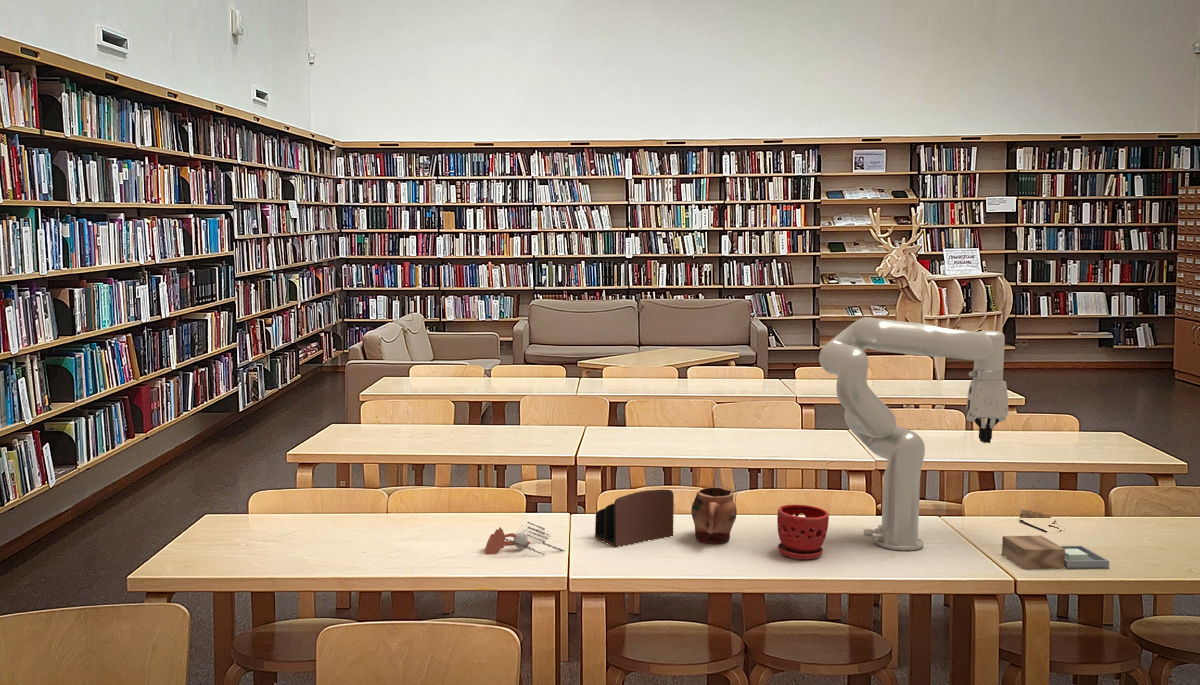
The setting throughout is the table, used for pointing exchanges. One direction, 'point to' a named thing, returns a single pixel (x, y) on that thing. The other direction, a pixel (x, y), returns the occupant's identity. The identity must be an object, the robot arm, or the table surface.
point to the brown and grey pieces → (519, 540)
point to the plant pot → (802, 531)
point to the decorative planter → (713, 514)
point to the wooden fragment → (1034, 515)
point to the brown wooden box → (1033, 552)
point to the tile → (1075, 555)
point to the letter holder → (636, 518)
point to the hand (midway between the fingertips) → (985, 441)
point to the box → (1092, 562)
